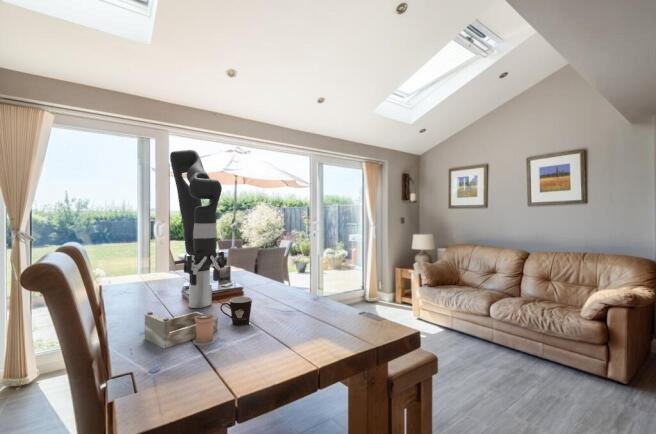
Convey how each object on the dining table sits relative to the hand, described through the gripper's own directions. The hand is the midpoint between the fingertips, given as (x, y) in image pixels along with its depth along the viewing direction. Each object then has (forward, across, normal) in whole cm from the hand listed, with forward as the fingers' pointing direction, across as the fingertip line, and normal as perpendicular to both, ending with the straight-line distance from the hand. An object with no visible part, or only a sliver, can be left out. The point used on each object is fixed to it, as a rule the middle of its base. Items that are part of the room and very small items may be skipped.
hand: (205, 282), depth 108 cm
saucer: (+20, 0, +1) cm, 20 cm away
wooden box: (+20, +2, -10) cm, 23 cm away
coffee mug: (+21, -18, -4) cm, 27 cm away
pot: (+19, +1, +1) cm, 19 cm away
